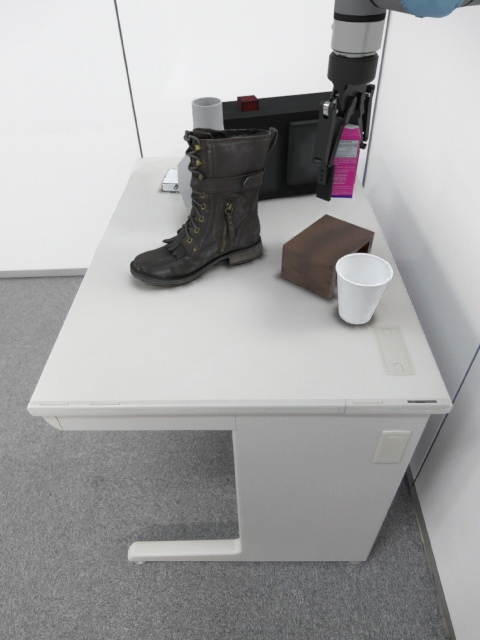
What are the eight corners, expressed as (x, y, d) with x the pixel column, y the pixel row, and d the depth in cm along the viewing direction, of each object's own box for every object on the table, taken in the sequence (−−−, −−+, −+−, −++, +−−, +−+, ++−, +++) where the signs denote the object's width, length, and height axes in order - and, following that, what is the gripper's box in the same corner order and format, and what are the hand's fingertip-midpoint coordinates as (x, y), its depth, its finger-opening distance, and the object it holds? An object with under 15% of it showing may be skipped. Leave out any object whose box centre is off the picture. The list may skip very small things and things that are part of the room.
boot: (125, 269, 97) (92, 136, 78) (257, 230, 108) (258, 104, 88) (141, 298, 90) (109, 159, 70) (281, 254, 100) (288, 121, 81)
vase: (250, 232, 107) (250, 112, 88) (183, 238, 106) (168, 117, 87) (242, 200, 119) (240, 88, 100) (181, 205, 118) (167, 92, 99)
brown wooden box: (368, 263, 97) (374, 232, 92) (328, 299, 88) (333, 267, 83) (322, 244, 103) (325, 213, 97) (280, 276, 94) (282, 245, 89)
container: (174, 168, 135) (173, 160, 134) (210, 169, 134) (210, 161, 132) (157, 200, 121) (156, 191, 119) (198, 201, 120) (197, 192, 118)
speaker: (348, 192, 122) (363, 98, 105) (224, 209, 116) (219, 113, 100) (327, 169, 132) (337, 81, 116) (213, 184, 127) (207, 94, 111)
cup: (386, 332, 81) (399, 285, 74) (332, 333, 81) (340, 286, 74) (374, 298, 88) (386, 252, 81) (325, 298, 88) (331, 252, 81)
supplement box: (319, 183, 85) (325, 122, 78) (350, 184, 85) (360, 123, 77) (320, 197, 81) (327, 134, 73) (352, 199, 81) (363, 135, 73)
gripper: (365, 36, 75) (346, 166, 90) (294, 61, 64) (287, 205, 79) (407, 42, 71) (380, 176, 87) (339, 69, 60) (322, 218, 75)
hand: (335, 190), depth 83 cm, fingers closed on supplement box, 8 cm apart
